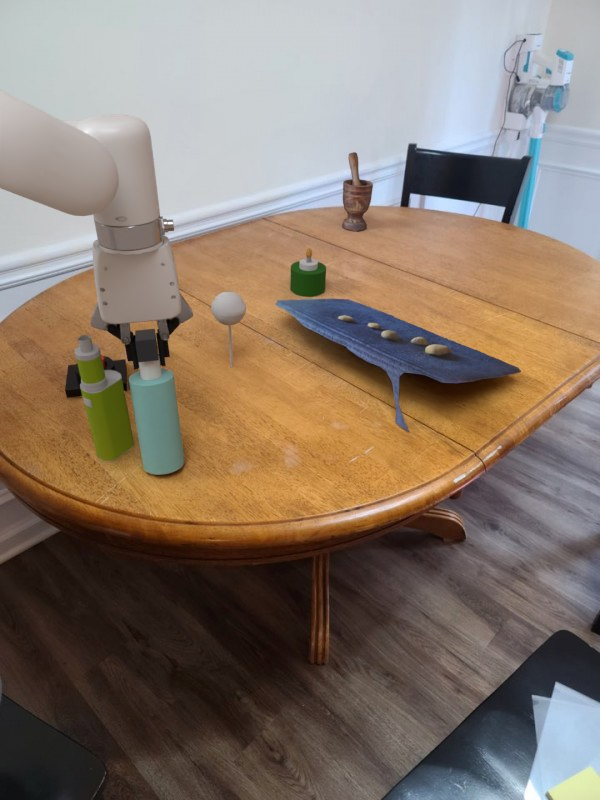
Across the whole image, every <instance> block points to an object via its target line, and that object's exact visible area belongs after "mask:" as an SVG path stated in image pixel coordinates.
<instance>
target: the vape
mask: <svg viewBox="0 0 600 800" xmlns="http://www.w3.org/2000/svg"><path fill="white" fill-rule="evenodd" d="M77 341H78V346H77V347H75V349H74V351H73V352H74V356H75V359H76V364H78V368H79V372H80V376H81V384H80V388H81V392H82V396H81V397H82V399H83V400H82V401H83V404H84V409H85V412H86V416H87V421H88V426H89V429H90V434H91V437H92V440H93V445H94V449H95V453H96V457H97V458H98V459H99V460H100V461H102V462H105V463H112V462H116V461H117V460H119V459H120V458H121V457H123V456H124V455H126V454H127V453H128V452H129V451H131V450H132V449H134V447H135V439H134V434H133V428H132V424H131V419H130V414H129V408H128V404H127V398H126V391H124V387H123V382H122V376H121V374H120V373H119V372H117V371H114V370H104V367H103V362H102V358H101V355H102V354H101V353H102V352H101V348H100V345H98V344H96V343H93V341H92V336H91V335H88V334H83V335H80V336H78V337H77Z"/></svg>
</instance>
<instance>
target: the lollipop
mask: <svg viewBox="0 0 600 800" xmlns="http://www.w3.org/2000/svg"><path fill="white" fill-rule="evenodd" d="M210 308H211V312H212V315H213V317H214V319H215V321H217V322H218V323H220V324H221V325H224V326H228V327H227V328H228V344H229V345H228V346H229V365H230V368H233V367H234V361H233V360H234V359H233V339H232V337H233V336H232V326H234V325H237V324H239V323H240V322H241V321H242V320H243V319H244V317H245V314H246V312H247V305H246V303H245V301H244V299H243V297H242V296H241V295H239V294H238V293H237V292H234V291H230V290H229V291H222V292H220V293H219V294H217V295H216V296H215V298H214V299H213V301H212V303H211V307H210Z"/></svg>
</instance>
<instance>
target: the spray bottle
mask: <svg viewBox="0 0 600 800" xmlns="http://www.w3.org/2000/svg"><path fill="white" fill-rule="evenodd" d="M156 333H157V332H156V329H155V328H148V329H147V328H146V329H138V330H135V332H134V335H135V343H136V350H137V356H138V363H139V368H138V371H135V372H134V373H132V374H131V375H130V376H129V377H128V383H129V389H130V390H129V391H130V395H131V401H132V408H133V414H134V415H133V416H134V420H135V427H136V432H137V433H136V434H137V438H138V439H137V440H138V445H139V450H140V451H139V452H140V456H141V463H142V464H141V465H142V468H143V470H144V471H145V472H146V473H148V474H151V475H156V476H157V475H159V476H161V475H169V474H172V473H175V472H176V471H178V470H180V469H182V467H183V466H184V464H185V463H186V461H185V453H184V445H183V436H182V429H181V422H180V421H181V420H180V413H179V406H178V397H177V389H176V381H175V374H174V372H173V371H172V370H171V369H167V368H163V367H162V366H160V358H159V351H158V344H157V337H156Z"/></svg>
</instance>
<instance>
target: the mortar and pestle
mask: <svg viewBox="0 0 600 800" xmlns="http://www.w3.org/2000/svg"><path fill="white" fill-rule="evenodd" d="M348 164H349V169H350V175H351V178H349V179H345V180H344V181H343V183H342V204H343V205H342V206H343V209H344V211H345V212H346V213H347V217H346V218H345V219H343V221H342V225H341V227H342V228H343V229H346V230H348V231H352V232H355V233H356V232H359V231H360V232H361V231H364V230H366V229H367V222H366V220H365V219H364V214H365V213H367V212H368V210H369V208H370V205H371V202H372V196H373V195H372V194H373V190H374V189H373V188H374V183H373V182H372V181H370V180H366V179H360V174H359V156H358V153H357V152H356V151H352V152H350V153H348Z"/></svg>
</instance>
